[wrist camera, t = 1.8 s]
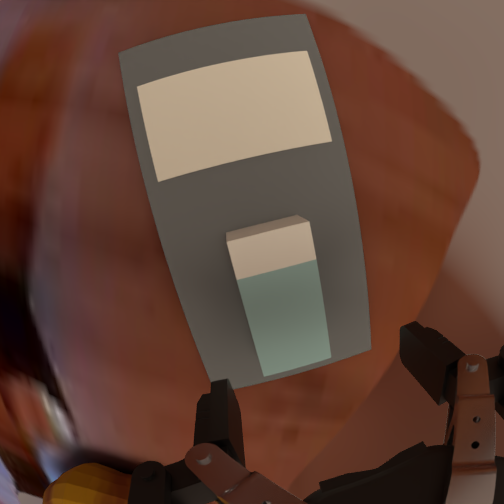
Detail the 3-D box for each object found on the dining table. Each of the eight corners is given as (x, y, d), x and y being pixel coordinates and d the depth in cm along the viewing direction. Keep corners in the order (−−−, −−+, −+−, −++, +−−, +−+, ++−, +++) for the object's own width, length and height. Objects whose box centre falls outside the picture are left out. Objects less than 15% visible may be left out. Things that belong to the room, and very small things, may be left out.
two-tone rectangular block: (259, 354, 23) (263, 376, 20) (225, 232, 20) (226, 242, 17) (319, 337, 23) (331, 357, 20) (297, 214, 20) (309, 221, 18)
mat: (215, 388, 24) (215, 395, 23) (120, 55, 17) (117, 51, 16) (368, 345, 25) (372, 350, 24) (303, 17, 17) (306, 12, 16)
